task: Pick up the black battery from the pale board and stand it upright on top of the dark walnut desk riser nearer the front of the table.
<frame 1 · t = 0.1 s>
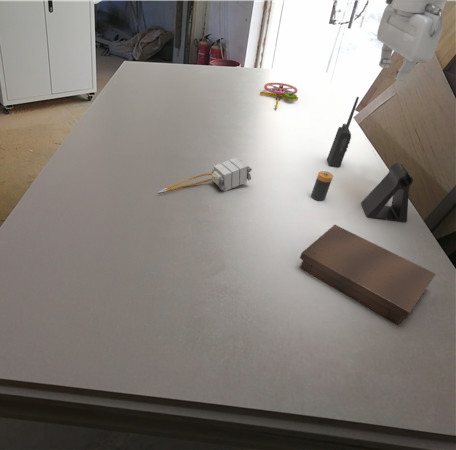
hand: (390, 73, 87), 30 cm above the table, tool pointing down, fingers open, 8 cm apart
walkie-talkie: (333, 164, 118), on the table
phone stand: (382, 213, 98), on the table
desk riser: (360, 278, 79), on the table
mechanical gear assembly: (278, 98, 161), on the table
battery: (317, 197, 102), on the table
electrical component: (203, 190, 102), on the table
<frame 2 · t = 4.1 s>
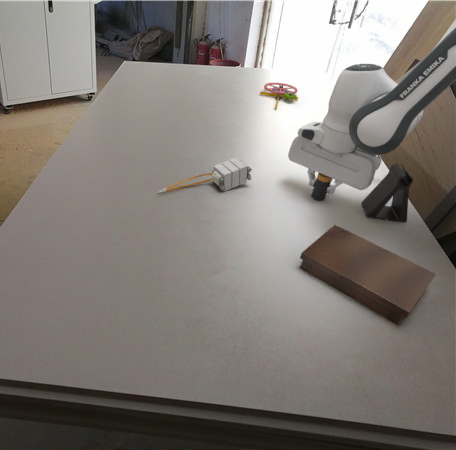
hand: (320, 189, 101), 2 cm above the table, tool pointing down, fingers closed on battery, 3 cm apart
battery: (317, 197, 102), on the table, touching gripper
everything else where it was.
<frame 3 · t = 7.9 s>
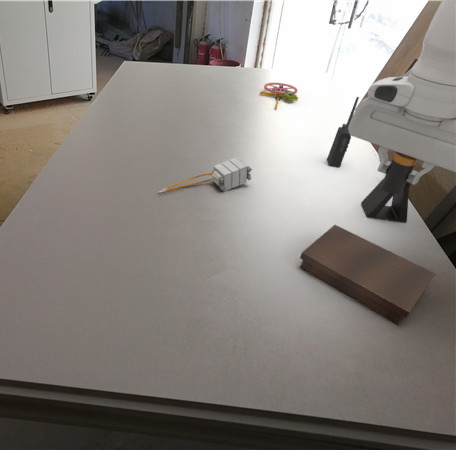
hand: (396, 176, 69), 21 cm above the table, tool pointing down, fingers closed on battery, 3 cm apart
battery: (391, 188, 70), point 18 cm above the table, touching gripper
everything else where it was.
when the fingers open (6 cm above the table, at t = 11.7 s): battery stays where it is, resting on desk riser.
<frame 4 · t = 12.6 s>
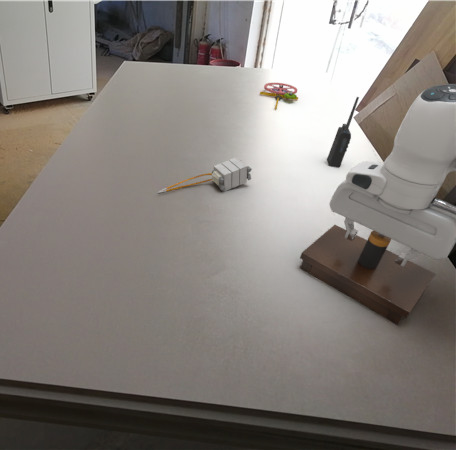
hand: (374, 250, 75), 7 cm above the table, tool pointing down, fingers open, 8 cm apart
battery: (367, 263, 76), point 4 cm above the table, touching desk riser
everything else where it was.
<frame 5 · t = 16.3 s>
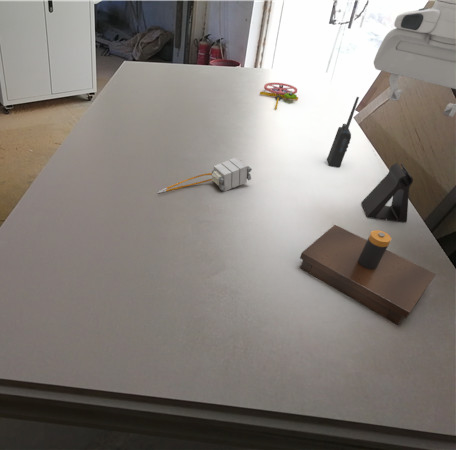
hand: (419, 107, 73), 29 cm above the table, tool pointing down, fingers open, 8 cm apart
nothing on the table moved.
at the end: battery inside the target area on the desk riser (0.1 cm from its centre), point 4.0 cm above the desk riser's base; battery tilted 0°; the gripper is holding nothing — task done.
